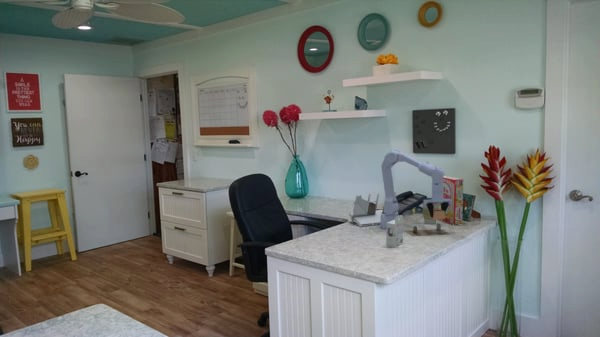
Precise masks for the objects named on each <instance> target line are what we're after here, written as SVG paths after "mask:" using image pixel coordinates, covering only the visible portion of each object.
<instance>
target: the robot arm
mask: <svg viewBox="0 0 600 337" xmlns="http://www.w3.org/2000/svg"><path fill="white" fill-rule="evenodd" d="M399 162H405V163H407V164H409V165H410V166H414V167H415V168H417V169H418V171H419V172H420V173H422V174H424V175H426V176H428V177H431V180H432V182H431V198H432V199H429V200H424V204H426V205H427V207H428V210H429V213H430V217H433V209H434V205H433V203H441V210H443V211H445V212H446V210H447V208H448V206H449V204H448V203H451V199H443V177H444V175H445V171H444V170H443V169H442V168H440V167H438V166H436V165H432V164H431V163H429V162H428V161H422V162H421V161H420V160H417V159H415V158H414V157H412V156H410V155H408V154H406V153H405V152H401V151H399V150H393V151H389V152H387V153H386V154H385V155H384V158H383V161H382V164H381V174H382V181H383V182H382V183H383V187H384V188H383V189H384V194H385V196H384V201H385V206H384V205H383V206H384V211H385V214H382V215H381V218H380V225H379V226H380V227H379V228H381V229H383V230H386V223H387V222H390V221H392V220H395V217H398V216H399V212H398V211H399V210H400V204H399V202H398V199H397V197H396V196H395V193H394V192H395V186H394V179H393V173H392V168H393V167H394V166H395V165H396V164H398V163H399ZM385 197H386V198H385Z"/></svg>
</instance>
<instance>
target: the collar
mask: <svg viewBox="0 0 600 337" xmlns="http://www.w3.org/2000/svg"><path fill="white" fill-rule="evenodd" d="M430 218H432V219H434V220H436V221H438V220H439V221H441V219H445V211H443V210H441V209H433V217H430Z"/></svg>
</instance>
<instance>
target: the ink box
mask: <svg viewBox="0 0 600 337" xmlns="http://www.w3.org/2000/svg"><path fill="white" fill-rule="evenodd" d="M398 218H399V219H400V220H398ZM385 228H386V229H385V231H386V234H385V236H386V244H385V246H386V247H389V248H397V247H399V246H401V245H402V244H401V243H403V242H404V216H403V214H400V215H398V217H395V220H392V221H390V222H387V223H386V227H385Z"/></svg>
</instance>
